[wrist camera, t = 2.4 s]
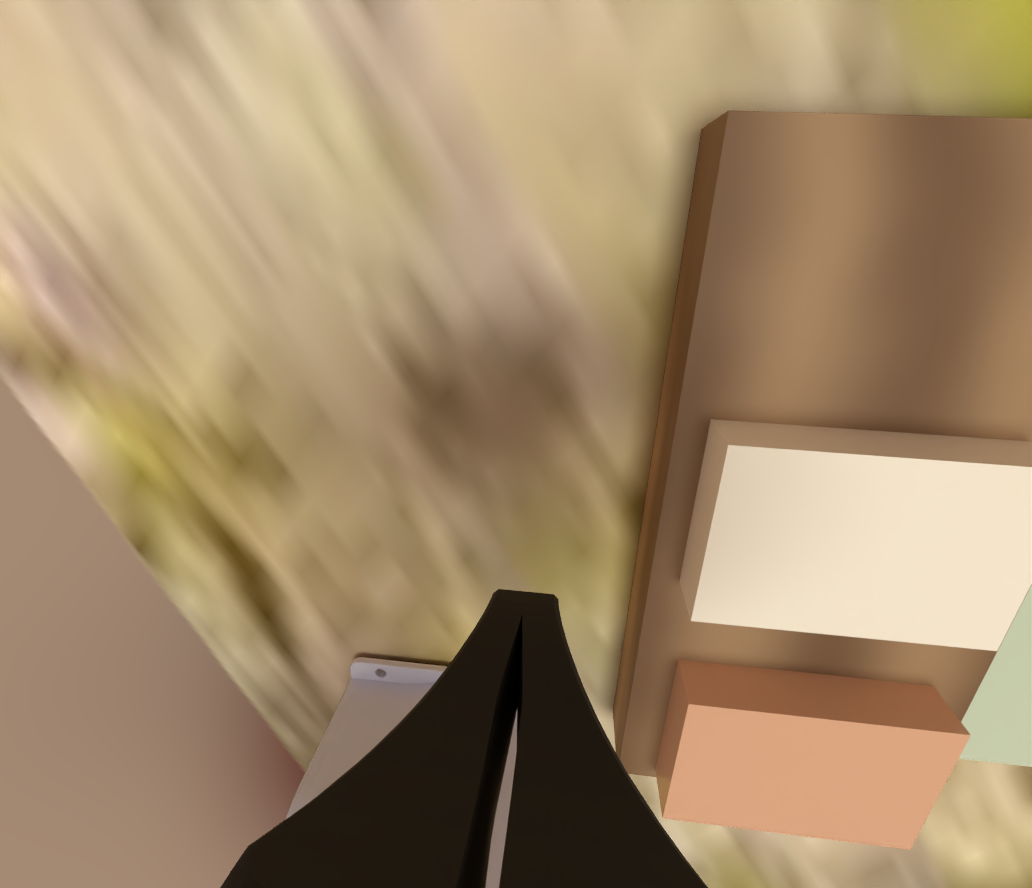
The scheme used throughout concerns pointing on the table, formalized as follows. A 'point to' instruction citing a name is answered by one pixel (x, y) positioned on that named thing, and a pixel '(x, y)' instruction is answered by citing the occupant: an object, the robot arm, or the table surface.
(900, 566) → the tile
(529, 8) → the table surface
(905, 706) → the tile
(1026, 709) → the mat
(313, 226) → the table surface
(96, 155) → the table surface
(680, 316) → the board
